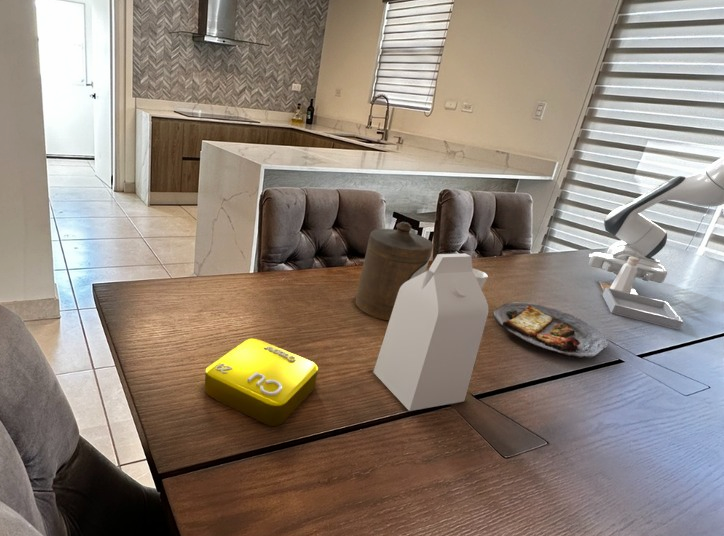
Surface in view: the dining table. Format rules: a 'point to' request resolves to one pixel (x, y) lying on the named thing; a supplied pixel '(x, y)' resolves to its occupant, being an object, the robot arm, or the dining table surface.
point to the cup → (480, 277)
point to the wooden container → (390, 267)
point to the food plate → (551, 329)
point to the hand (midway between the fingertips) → (628, 273)
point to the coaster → (606, 285)
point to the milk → (434, 335)
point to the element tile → (261, 381)
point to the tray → (642, 308)
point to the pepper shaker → (626, 276)
